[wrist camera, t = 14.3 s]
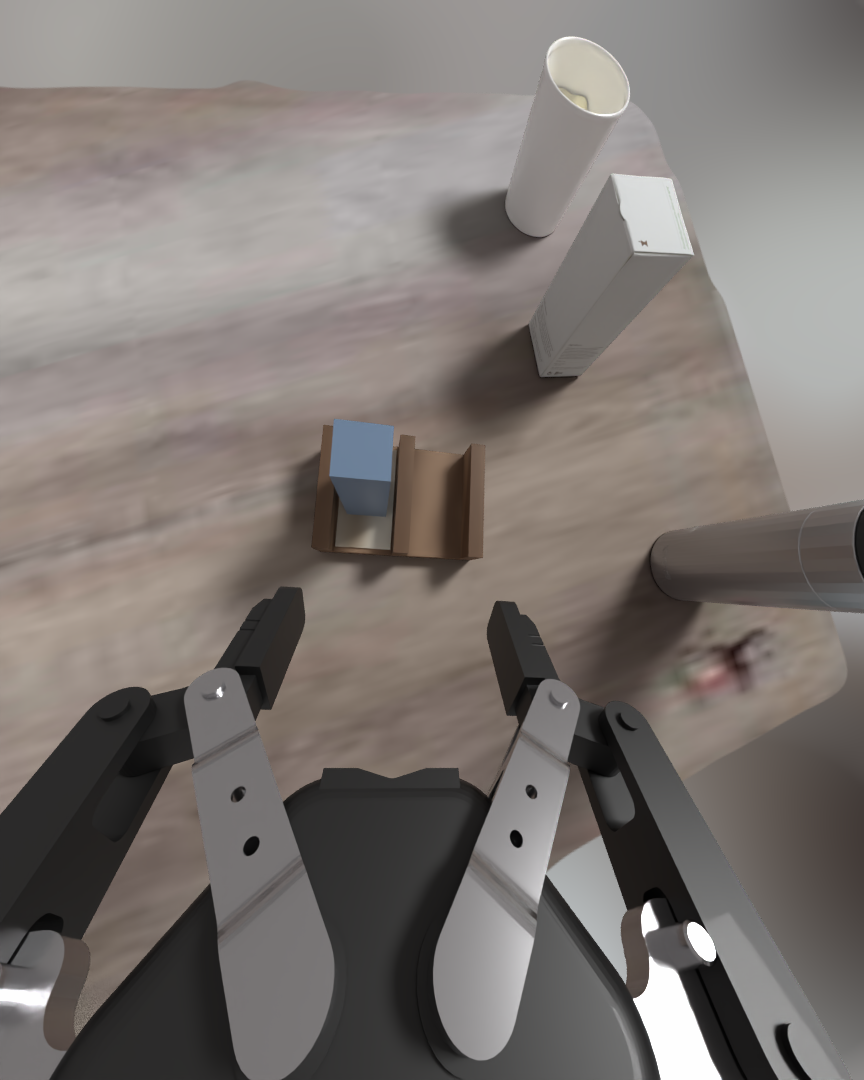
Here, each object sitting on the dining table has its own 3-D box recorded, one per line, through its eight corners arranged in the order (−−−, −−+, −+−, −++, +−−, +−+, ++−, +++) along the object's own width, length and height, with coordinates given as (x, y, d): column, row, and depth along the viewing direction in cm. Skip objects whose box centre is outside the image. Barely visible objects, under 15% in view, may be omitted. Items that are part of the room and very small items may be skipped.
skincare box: (579, 378, 41) (699, 259, 26) (535, 379, 40) (633, 255, 25) (568, 321, 42) (677, 174, 27) (524, 320, 41) (612, 166, 25)
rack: (472, 461, 37) (485, 445, 32) (469, 560, 35) (482, 557, 31) (330, 444, 34) (323, 424, 29) (320, 551, 32) (311, 547, 28)
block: (388, 480, 33) (393, 426, 21) (385, 516, 32) (390, 481, 21) (350, 477, 32) (333, 418, 20) (347, 514, 32) (329, 476, 20)
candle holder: (534, 172, 44) (591, 26, 32) (575, 226, 44) (647, 99, 32) (485, 197, 42) (527, 49, 30) (528, 253, 42) (587, 128, 30)
